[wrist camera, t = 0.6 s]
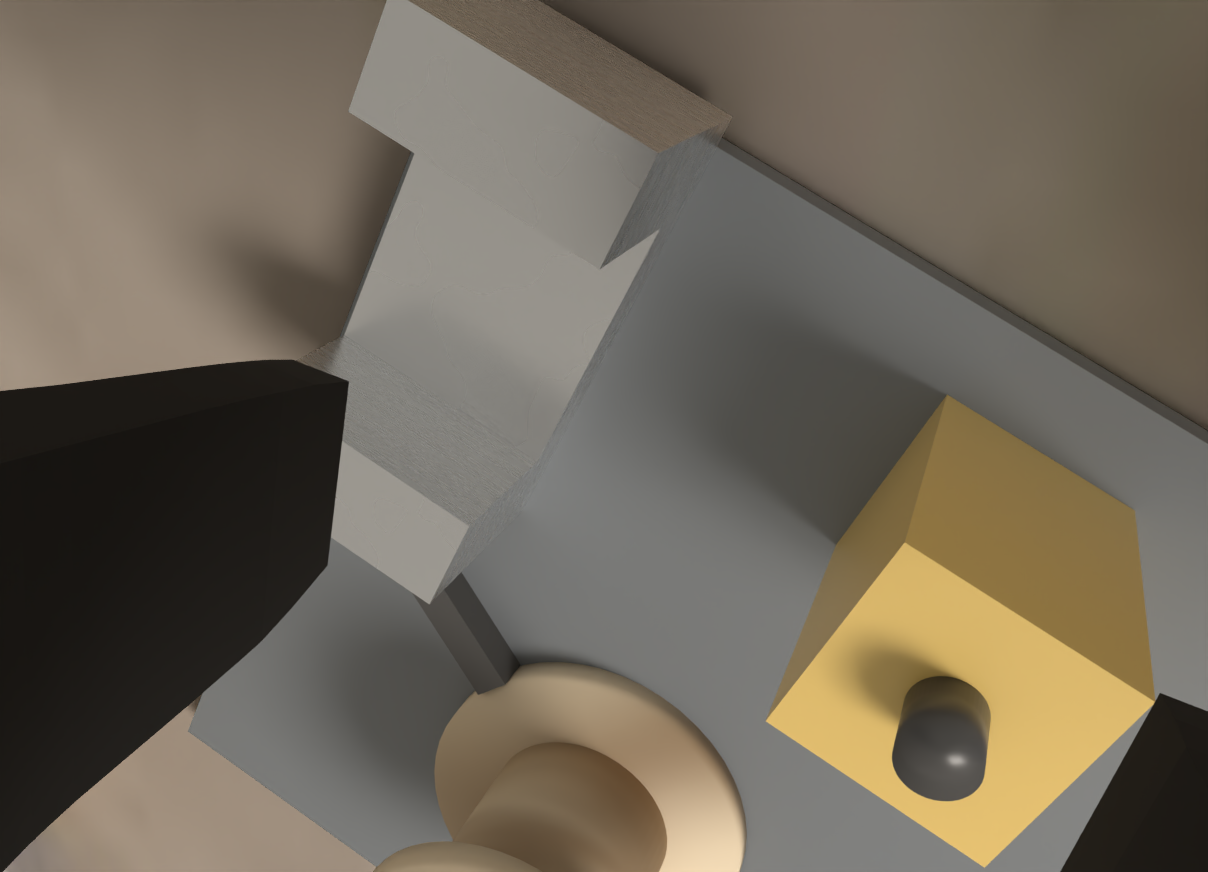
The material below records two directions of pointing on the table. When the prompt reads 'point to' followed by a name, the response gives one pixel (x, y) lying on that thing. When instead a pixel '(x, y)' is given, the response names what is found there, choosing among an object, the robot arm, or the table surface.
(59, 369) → the table surface
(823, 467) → the board
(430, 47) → the block
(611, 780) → the bobbin
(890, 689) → the yellow block with knob
